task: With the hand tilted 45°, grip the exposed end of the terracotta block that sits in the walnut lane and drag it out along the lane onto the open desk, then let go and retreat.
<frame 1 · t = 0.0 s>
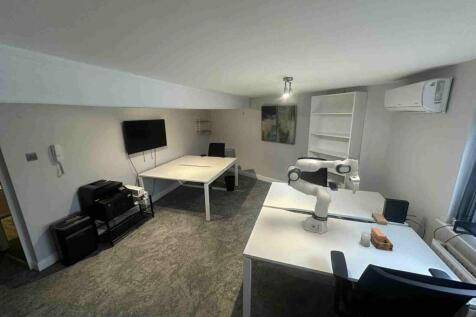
hand: (351, 191, 161), 39 cm above the table, tool pointing down, fingers open, 8 cm apart
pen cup: (364, 244, 153), on the table
brick: (379, 220, 186), on the table
lane: (380, 244, 152), on the table
block: (376, 240, 158), on the table
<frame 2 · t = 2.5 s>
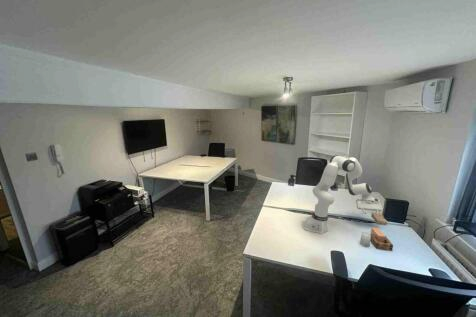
hand: (370, 214, 170), 14 cm above the table, tool tilted 45°, fingers open, 8 cm apart
nothing on the table moved.
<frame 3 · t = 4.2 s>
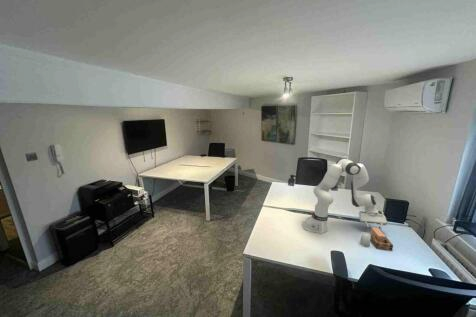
hand: (374, 227, 163), 7 cm above the table, tool tilted 45°, fingers open, 8 cm apart
nothing on the table moved.
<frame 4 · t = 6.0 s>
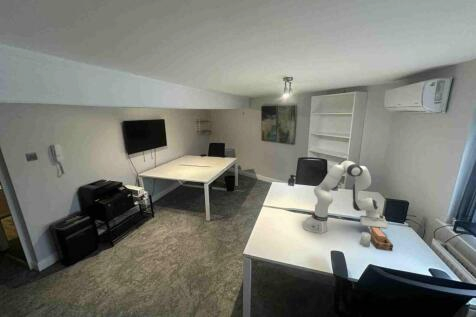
hand: (375, 232, 160), 4 cm above the table, tool tilted 45°, fingers closed on block, 5 cm apart
block: (376, 239, 157), on the table, touching gripper
everything else where it was.
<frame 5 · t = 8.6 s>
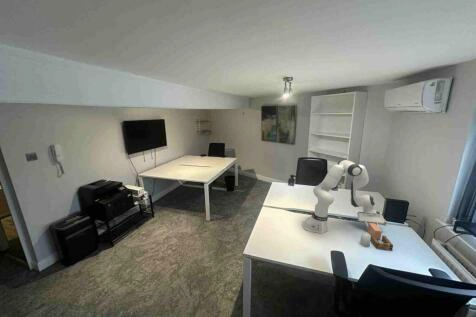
hand: (372, 227, 166), 5 cm above the table, tool tilted 45°, fingers closed on block, 5 cm apart
block: (373, 234, 163), on the table, touching gripper
everything else where it was.
when the fingers open (5 cm above the table, at t = 11.5 s): block drops 1 cm, on the table.
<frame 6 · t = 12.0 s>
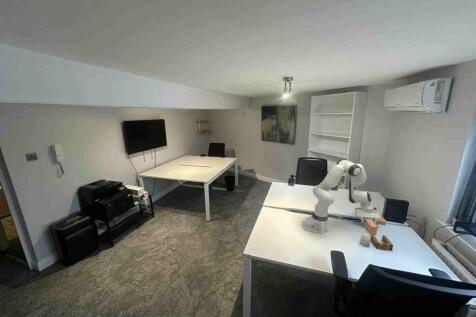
hand: (369, 223, 172), 5 cm above the table, tool tilted 45°, fingers open, 8 cm apart
block: (370, 230, 170), on the table
everything else where it was.
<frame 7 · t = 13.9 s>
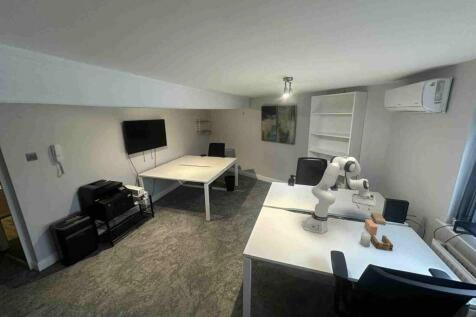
hand: (363, 209, 181), 14 cm above the table, tool tilted 35°, fingers open, 8 cm apart
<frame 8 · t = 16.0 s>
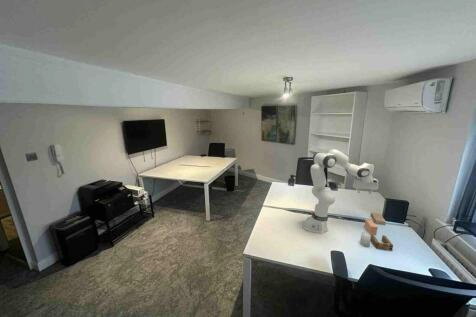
hand: (364, 193, 176), 31 cm above the table, tool pointing down, fingers open, 8 cm apart
at the end: block inside the target area (0.0 cm from its centre), on the table; block moved 13.2 cm from its start; the gripper is holding nothing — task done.
